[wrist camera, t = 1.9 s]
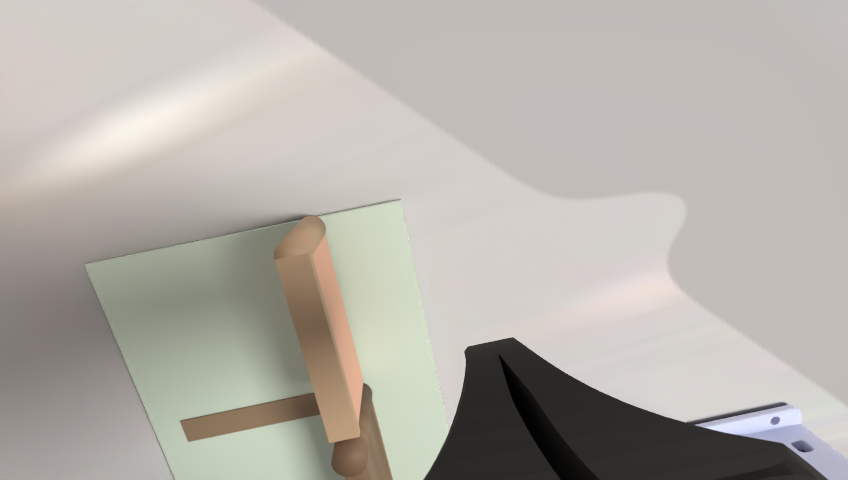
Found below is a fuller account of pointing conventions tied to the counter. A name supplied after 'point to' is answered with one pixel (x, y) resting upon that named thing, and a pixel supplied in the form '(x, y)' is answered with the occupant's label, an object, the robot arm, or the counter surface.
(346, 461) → the fence fixed
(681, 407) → the counter surface
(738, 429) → the robot arm
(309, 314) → the hinged panel
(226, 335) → the card
